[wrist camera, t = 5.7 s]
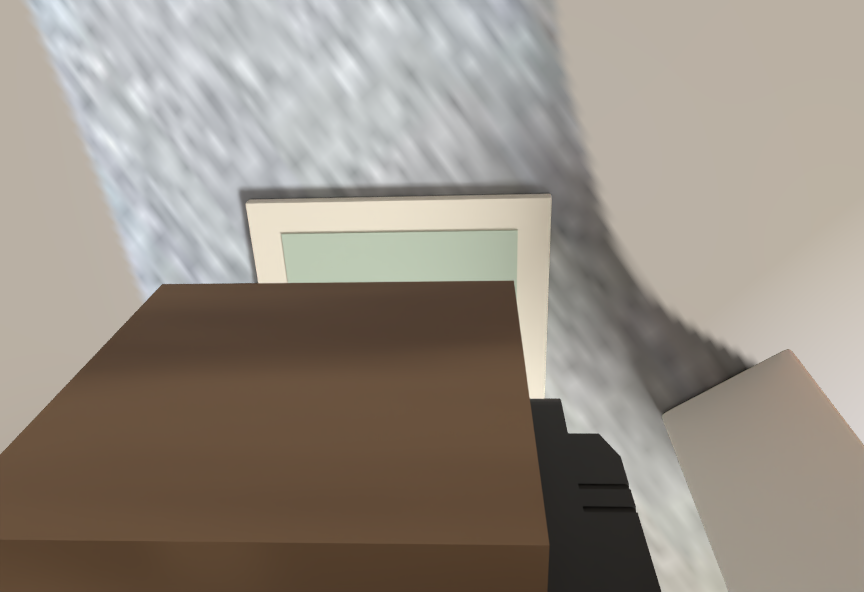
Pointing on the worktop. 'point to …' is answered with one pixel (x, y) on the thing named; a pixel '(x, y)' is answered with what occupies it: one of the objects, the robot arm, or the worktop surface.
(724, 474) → the milk carton
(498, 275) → the coaster
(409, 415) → the walnut block
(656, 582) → the robot arm
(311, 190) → the worktop surface
